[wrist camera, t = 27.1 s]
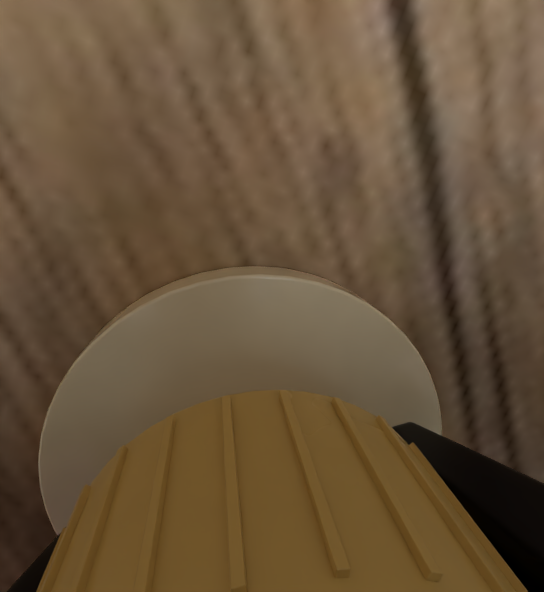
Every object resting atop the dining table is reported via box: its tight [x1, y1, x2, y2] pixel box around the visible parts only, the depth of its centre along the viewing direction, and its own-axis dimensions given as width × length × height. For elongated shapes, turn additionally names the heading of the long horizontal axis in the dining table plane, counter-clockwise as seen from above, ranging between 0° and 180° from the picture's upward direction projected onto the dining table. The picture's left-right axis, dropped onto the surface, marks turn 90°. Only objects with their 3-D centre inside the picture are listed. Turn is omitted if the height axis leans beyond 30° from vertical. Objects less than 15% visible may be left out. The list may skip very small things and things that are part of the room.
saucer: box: [38, 266, 442, 536], centre depth 8 cm, size 8×8×1 cm
